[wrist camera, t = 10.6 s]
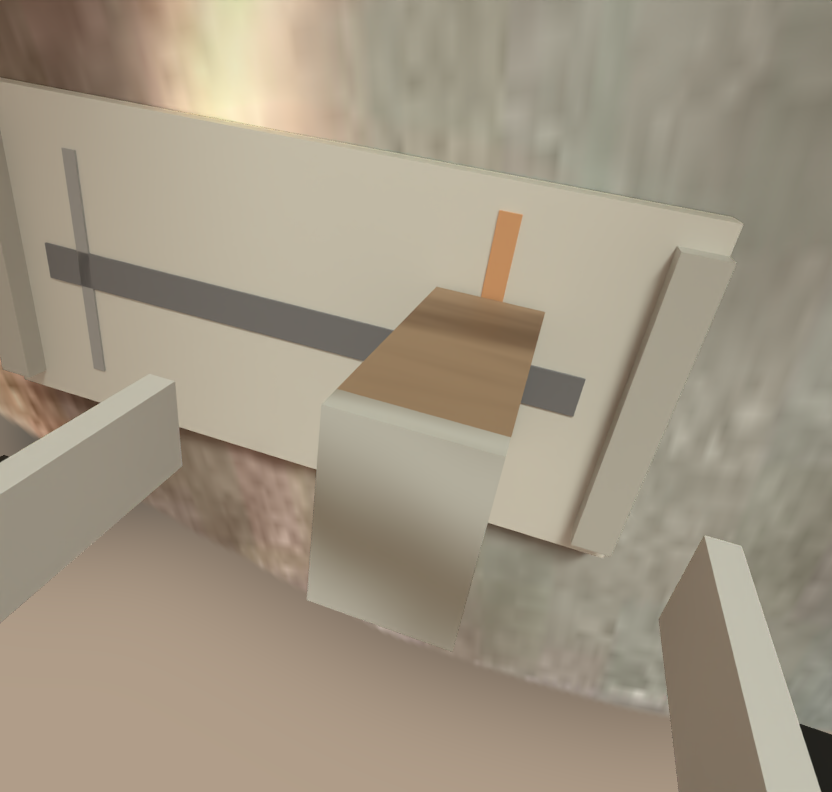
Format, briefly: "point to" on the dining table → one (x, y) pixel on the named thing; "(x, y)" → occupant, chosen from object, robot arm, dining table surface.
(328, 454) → the fader knob
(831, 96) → the dining table surface
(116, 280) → the slider console
